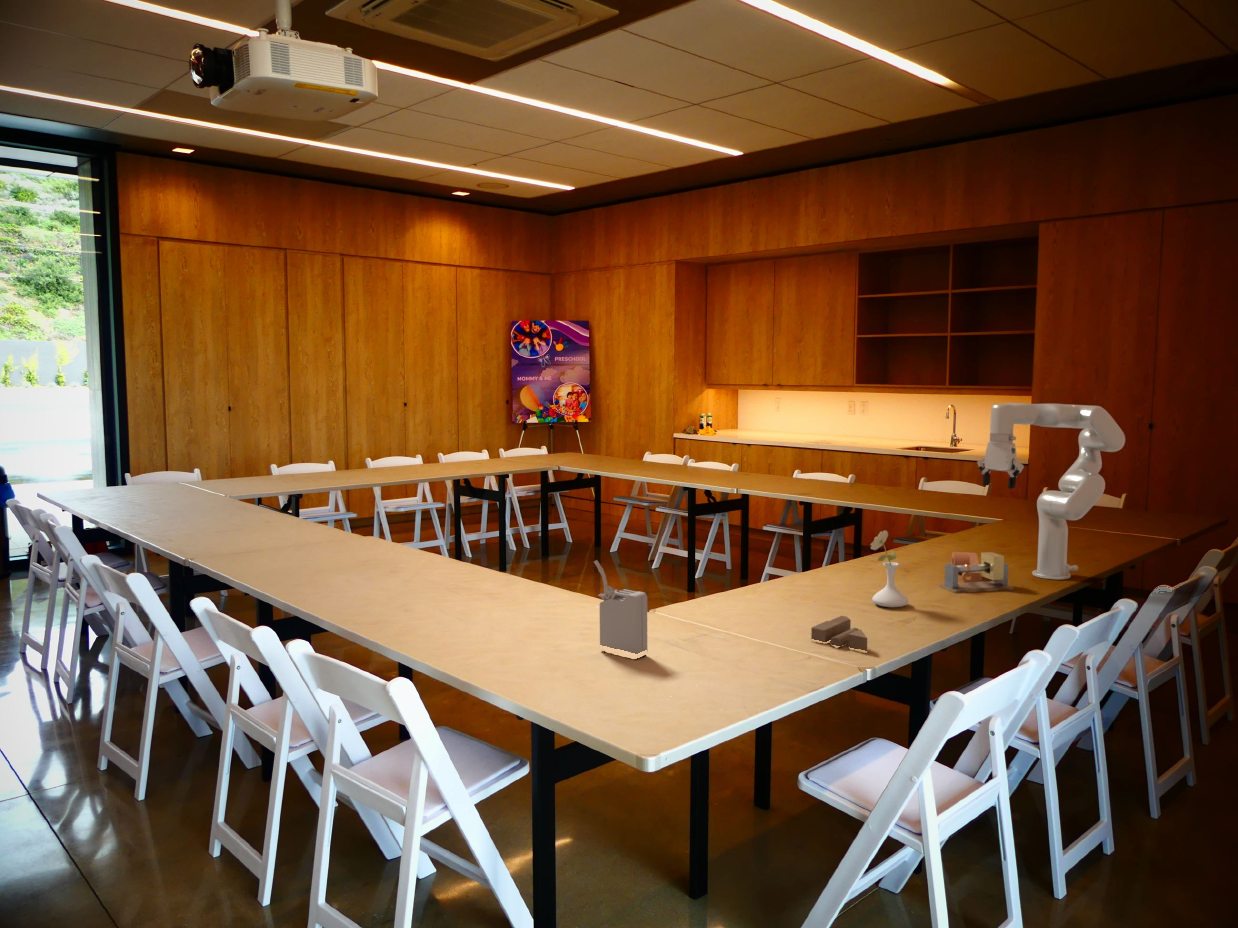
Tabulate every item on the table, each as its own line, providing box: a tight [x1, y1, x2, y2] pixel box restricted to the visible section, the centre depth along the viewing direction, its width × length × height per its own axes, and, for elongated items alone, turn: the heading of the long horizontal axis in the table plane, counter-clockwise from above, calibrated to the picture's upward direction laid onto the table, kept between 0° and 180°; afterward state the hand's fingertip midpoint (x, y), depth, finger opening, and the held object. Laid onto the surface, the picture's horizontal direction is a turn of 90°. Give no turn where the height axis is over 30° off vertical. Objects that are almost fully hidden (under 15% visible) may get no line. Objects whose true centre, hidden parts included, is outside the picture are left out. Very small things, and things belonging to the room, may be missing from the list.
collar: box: [980, 551, 1005, 581], centre depth 305 cm, size 4×7×8 cm, turn 11°
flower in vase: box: [870, 529, 910, 608], centre depth 281 cm, size 13×11×25 cm
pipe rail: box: [944, 562, 1009, 589], centre depth 304 cm, size 21×5×8 cm, turn 101°
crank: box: [951, 551, 983, 583], centre depth 322 cm, size 20×8×8 cm, turn 166°
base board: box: [938, 580, 1014, 594], centre depth 305 cm, size 22×10×1 cm, turn 101°
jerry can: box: [593, 559, 648, 654], centre depth 236 cm, size 15×5×25 cm, turn 51°
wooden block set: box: [810, 615, 868, 652], centre depth 246 cm, size 17×6×18 cm
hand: (998, 486), depth 311 cm, fingers open, 9 cm apart
